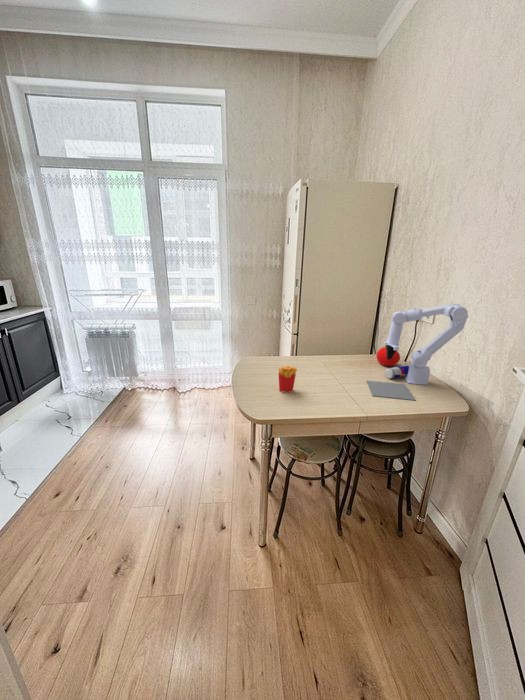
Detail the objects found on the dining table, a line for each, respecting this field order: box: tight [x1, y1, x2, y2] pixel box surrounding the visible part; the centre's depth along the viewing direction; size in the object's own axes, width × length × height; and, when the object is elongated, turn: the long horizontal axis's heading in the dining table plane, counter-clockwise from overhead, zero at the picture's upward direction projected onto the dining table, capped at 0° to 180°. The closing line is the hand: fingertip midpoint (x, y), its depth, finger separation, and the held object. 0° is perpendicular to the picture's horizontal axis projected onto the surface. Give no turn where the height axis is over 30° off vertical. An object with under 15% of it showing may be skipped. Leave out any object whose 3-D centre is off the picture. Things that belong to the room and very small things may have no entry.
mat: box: [366, 380, 416, 402], centre depth 140 cm, size 19×17×1 cm
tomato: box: [376, 346, 401, 367], centre depth 171 cm, size 12×13×11 cm
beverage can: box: [384, 364, 410, 380], centre depth 155 cm, size 6×6×15 cm
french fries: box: [278, 365, 298, 393], centre depth 134 cm, size 8×4×12 cm, turn 92°
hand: (388, 358), depth 152 cm, fingers closed
